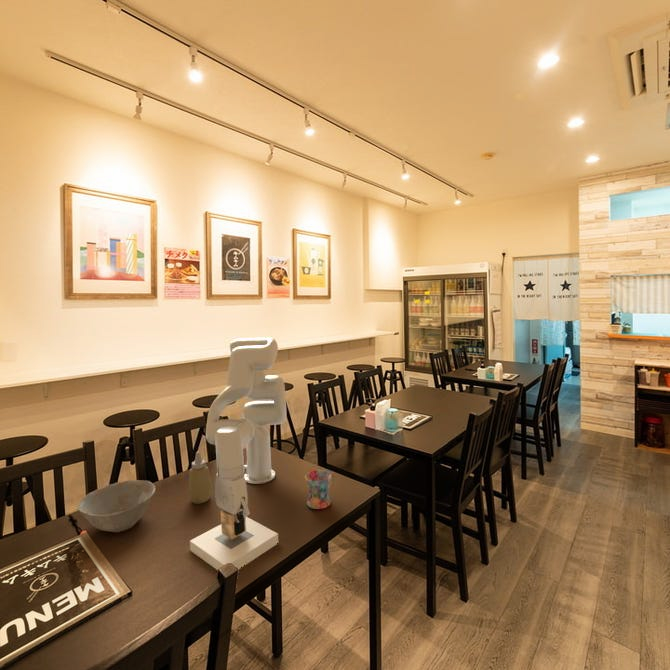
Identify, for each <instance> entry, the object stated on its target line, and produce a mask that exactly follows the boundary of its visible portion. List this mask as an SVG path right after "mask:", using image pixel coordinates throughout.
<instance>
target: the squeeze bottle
mask: <svg viewBox="0 0 670 670" xmlns="http://www.w3.org/2000/svg"><path fill="white" fill-rule="evenodd" d="M188 474H189V477H188V495H189V497H190V499H191V501H192V503H193V504H197V505H198V504H200V505H201V504H203V503H206V502H208V501H209V500H210V498H211V494H212V489H213V487H212V482H211V475H210V471H209V466H207V465H206V460H205V459H202V456H201V452H200V451H196V452H195V458H194V461H192V462H191V468H190V469H189V473H188Z"/></svg>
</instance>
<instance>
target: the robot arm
mask: <svg viewBox="0 0 670 670" xmlns="http://www.w3.org/2000/svg"><path fill="white" fill-rule="evenodd" d="M278 349H279V347H278V342H277V341H276V339H275V338H273V337H254V338H253V337H247V338H246V337H245V338H236V339H233V340H232V341H230V344H229V350H230V356H229V363H228V370H227V371H228V373H227V380H226V387H225V388H224V390H223V391H221V392H220V393H219V394H218V395H217V396H216V398H215V399H214V400H213V402H212V403H211V405H210V407H209V409H208V413H207V418H206V420H207V421H206V425H205V427H206V428H205V438H206V441H207V442H208V443H209V444H210V445H214V446H215V455H216V456H215V458H216V476H215V485H214V486H215V487H214V491H215V493H214V494H215V500H214V501H215V505H216V506H217V507H219V509H220V510H222V509H223V510H225V511H227V512H229V513H231V514H234V517H235V521H236V522H234V530H235V535H236V536H237V535H239V534H241V533H242V532H244V531H245V521H244V519H245V518H246V517H248V516H249V515H250V514H251V512H250V510H249V507H248V506H249V498H248V497H249V496H248V487H247V483H248V484H252V485H260V484H266V483H269V482H270V481H272V480H274V479H275V477H276V471H275V470H274V469H272V457H271V435H270V431H268V428H267V427H266V426H268V425H269V426H270V425H271V426H273V425H274V426H275V425H282V424H284V423H285V422H286V419H287V402H286V400H287V399H286V386H285V382H284V379H283V377H281V375H274V374H273V375H266V374H265V371H267V370H268V371H269V370H270V369H272V368H273V366H274V364H275V362H276V359H277V356H278V354H279V353H278V351H279V350H278ZM243 398H246V399H248V400H250V401H249V402H247V403H245V404H244V406H242V411H241V413H242V418H225V419H224V418H222V419H220V416H221V413H222V411H224V409H226V408H227V407H228V406H229V405H231V404H233V403H235V402H236V401H239V400H241V399H243ZM244 447H246V463H245V462H244V461H245V459H244ZM245 470H246V473H245ZM239 512H241V515H240V516H239V517H238V513H239Z"/></svg>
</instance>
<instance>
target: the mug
mask: <svg viewBox="0 0 670 670" xmlns="http://www.w3.org/2000/svg"><path fill="white" fill-rule="evenodd" d="M334 478H335V477H334V474H333V473H331V472H329V471H327V470H325V469H314V470H311V471H308V472H307V473H305V475H304V479H305V482H306V484H307V487H308V498H307V501H306V505H307V506H308V507H309V508H311V509H313V510H323V509H326V508H328V507H330V506H331V502H332V500H331V499H330V496H329V495H330V494H329V489H330V488H331V486H332V483H333V481H334Z"/></svg>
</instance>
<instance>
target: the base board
mask: <svg viewBox="0 0 670 670" xmlns="http://www.w3.org/2000/svg"><path fill="white" fill-rule="evenodd" d="M277 543H278V544H279V533H278V532H275V530H272V529H270V528H268V527H267V526H264V525H263V524H261V523H259V522H257V521H255V520H253V519H251V518H250V517H248V516H247V517H246V532H244V533H242V534H241V535H239V536H237V537H236V538H234V539H230V538H229V537H227V536H226V535H224V534H222V528H221V523H220V524H219V525H217V526H215V527H213V528H211V529H209V530H208V531H206V532H204V533H202V534H200V535H198V536H196V537H194V538H192V539H191V540H189V550H190V552H192V553H193V554H194V555H196V556H197V557H199V558H200V559H202V560H203V561H204V562H205V563H206V564H208V565H209V566H210V567H212V568H214V569H215V570H217V571H218V569H219V568H220V567H222V566H223V565H225V564H227V563H232V564H233V565H234V566H235V567H237V568H238V570H240V569H242V568H243V567H245V566H246V565H248V564H249V563H251V562H252V561H254V560H255V559H257V558H258V557H259V556H261V555H263V554H264V553H266V552H267V551H269V550H271V549H272V548H273V547H275V546H276V545H278V544H277ZM244 565H245V566H244ZM241 567H242V568H241Z"/></svg>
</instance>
